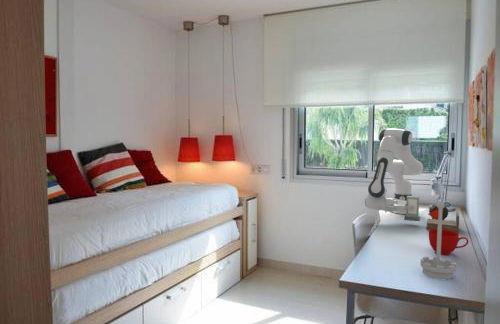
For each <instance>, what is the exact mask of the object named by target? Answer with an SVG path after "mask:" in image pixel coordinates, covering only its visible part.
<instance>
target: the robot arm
mask: <svg viewBox="0 0 500 324" xmlns="http://www.w3.org/2000/svg"><path fill="white" fill-rule="evenodd" d="M378 140H379V142H380V145H379V147H378V151H377V157H376V158H377V159H376V167H375V172H374V175H373V179H372V181H371V183H369V185H368V187H367V191H368V194H367V195H366V197H365V198H364V204H365V207H366V208H367V209H368V210H370V211H384V212H391V213H394V214H399V215H406V209H414V206H406V205H407V196H413V194H412V183H411V181H410V180H407V179H406V178H405V177H404V176H420V175H421V174H422V173H423V172H424V165H423V164H422V162H421V161H419V160H418V159H417V158H415V157H414V155H413V154H412V151H411V143H412V142H413V133H412V131H411V130H408V129H401V128H382V129H380V131H379V133H378ZM395 158H396V159H395ZM386 174H389V176H391V177H392V179H393V180H394V187H395V188H394V191H395V192H394V195H393V197H386V195H387V187H386V185H385V182H384V181H385V178H386Z"/></svg>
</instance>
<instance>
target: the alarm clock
mask: <svg viewBox="0 0 500 324" xmlns="http://www.w3.org/2000/svg"><path fill="white" fill-rule="evenodd" d="M440 199H441V201H440V202H443V198H441V197H440ZM438 200H439V198H437V199H436V201H437V202H436V203H433V204H432V205H431V206H430V207H429V208H428V209H429V210H428V214H429V213H431V212H433V211H435V210H437V209H438V207H437V203H438V202H439V201H438ZM430 217H431V219H436V218H434V217H432V216H430ZM447 217H449V209H448V207H447V206H445V207H444V208H443V211H442V220H446V219H447ZM437 220H438V219H437Z"/></svg>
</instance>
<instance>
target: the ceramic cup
mask: <svg viewBox="0 0 500 324" xmlns="http://www.w3.org/2000/svg"><path fill="white" fill-rule="evenodd" d="M437 230H438V229H433V230H428V239H429V240H428V241H429V242H428V243H429V244H430V247H431V248H432V250H433V251H434V252H435V253H436V254H437ZM462 239H463V240H466V243H464V244H462V245H459V246H458V244H459V242H460V240H462ZM468 245H469V238H467V237H465V236H461V237H460V233H457V232H454V231H449V230H442V234H441V255H444V256H449V255H451V254H452V253H453V252H454V251H455V250H456V249H462V248H465V247H466V246H468Z"/></svg>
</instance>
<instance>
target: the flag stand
mask: <svg viewBox="0 0 500 324" xmlns="http://www.w3.org/2000/svg"><path fill="white" fill-rule="evenodd" d="M436 203H437V207H438V209H437V210H435V211H433V212H431V213H429V212H428V213H427V215H429V216H430V217H431V216H432V217H434V218H436V219H438V230H437V253H436V256H433V257H432V259H431V258H430V257H429V256H423V257H422V258H420V263H419V265H420V267H421V268H422V273H424V274H425V276H426V275H427V277H428V276H429V277H428V278H431V277H432V279H435V278H437V279H436V280H442V279H447V280H451V278H452V279H453V277H454V274H455V272H456V271H457V263H456V262H453V261H452V259H449V258H444V260H442V258H441V255H442V254H441V234H442V211H443V208H444V207H445V203H444V201H442V202H441V201H438V202H436ZM432 217H431V218H432ZM424 274H423V275H424Z"/></svg>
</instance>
